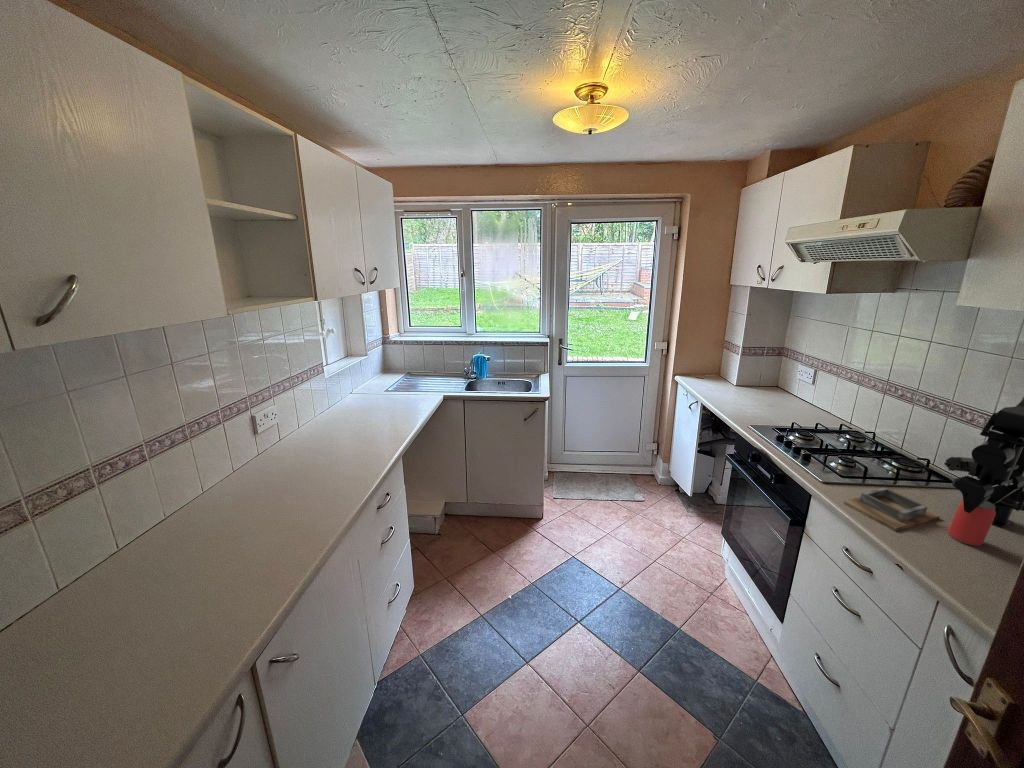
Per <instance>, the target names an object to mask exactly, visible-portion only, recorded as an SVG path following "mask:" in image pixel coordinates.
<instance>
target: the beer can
mask: <svg viewBox="0 0 1024 768" xmlns="http://www.w3.org/2000/svg"><path fill="white" fill-rule="evenodd" d="M995 508H996V507H995V505H993V504H992V503H990V502H988V501H985V502H984V503H982V504H981V505H980V506H979V507H977V508H976V509H975V510H973V511H972V512H971V513H967V512H965V511H964V503H963V500H962V501H961V502H960V503H959V504H958V506H957V508H956V511H955V513H954V516H953V518H952V521H951V523H950V525H949V528H948V534H949V536H950V537H951V538H952V539H955V540H956V541H958V542H960V543H962V544H966V545H969V546H974V547H975V546H976V547H978V546H982V545H984V542H985V540H986V537H987V535H988V533H989V531H990V529H991V526H992V525H993V524H992V522H993V520H994V518H995V516H996V511H995Z"/></svg>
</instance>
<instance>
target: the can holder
mask: <svg viewBox="0 0 1024 768" xmlns="http://www.w3.org/2000/svg"><path fill="white" fill-rule="evenodd" d="M860 494H861V495H860V496H859V497H855V498H851V499H847V500H846V499H845V500H844V501H843V505H845V506H847V507H849V508H851V509H853V510H855V511H856V512H857V513H860V514H862V515H864V516H866V517H868V518H870V519H872V520H873V521H875V522H877V523H879V524H881V525H883V526H885V527H886V528H888V529H890V530H892V531H894V532H897V531H900V530H901V531H902V530H904V529H908V528H911V527H914V526H917V525H922V524H925V523H928V522H932V521H935V520H939V519H940V517H941V515H939V514H937V513H935V512H933V511H931V510H929V509H928V508H929V507H928V506H926V505H924V504H922V503H920V502H918V501H915V500H913V499H912V498H909V497H907V496H905V495H902V494H901V493H898V492H895V491H894V490H891V489H889V488H887V487H881V488H878V489H872V490H869V491H865V492H864V491H863V492H861V493H860Z"/></svg>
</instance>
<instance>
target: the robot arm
mask: <svg viewBox="0 0 1024 768" xmlns="http://www.w3.org/2000/svg"><path fill="white" fill-rule="evenodd" d="M979 435H980V436H983V437H986V438H987V440H986V441H985V442H984V443H982V444H979V445H977V446H976V447H974V448H973V449H972V451H971V457H962V456H961V457H960V456H950V457H948V458H946V459H945V462H944V464H943V465H944V466H946V467H947V469H948V471H952V472H954V471H957V472H965V473H968V474H967V475H965V476H960V477H955V478H954V479H953V481H952V484H951V486H953V488H955V489H956V490H958V491H959V492H960V493H961V495H962V501H963V503H964V511H965V512H967V513H971V512H972V511H973V510H975V509H976V508H977V507H979V506H980V505H981V504H982V503H984V502H985V501H988V502H990V503H992V504H993V505H995V507H996V508H995V511H996V516H995V518H994V520H993V522H992V525H995V526H996V527H999V528H1004V527H1006V526H1007V527H1008V526H1010V525H1013V524H1014V521H1012V520H1010V517H1011V515H1012V513H1013V512H1014V510H1016V512H1021V511H1023V512H1024V396H1023V397H1022V399H1021V400H1020V401H1019V403H1017V404H1016V405H1015V406H1008V407H1007V406H1006V407H1005V406H1004V407H1003V408H1001V409H999V411H997V412H993V414H992V415H991V416H990V417H989V420H988V421H987V423H986V424H985V426H984V427H983V428H982V430H981V431H980V433H979ZM975 477H976V478H975Z"/></svg>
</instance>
